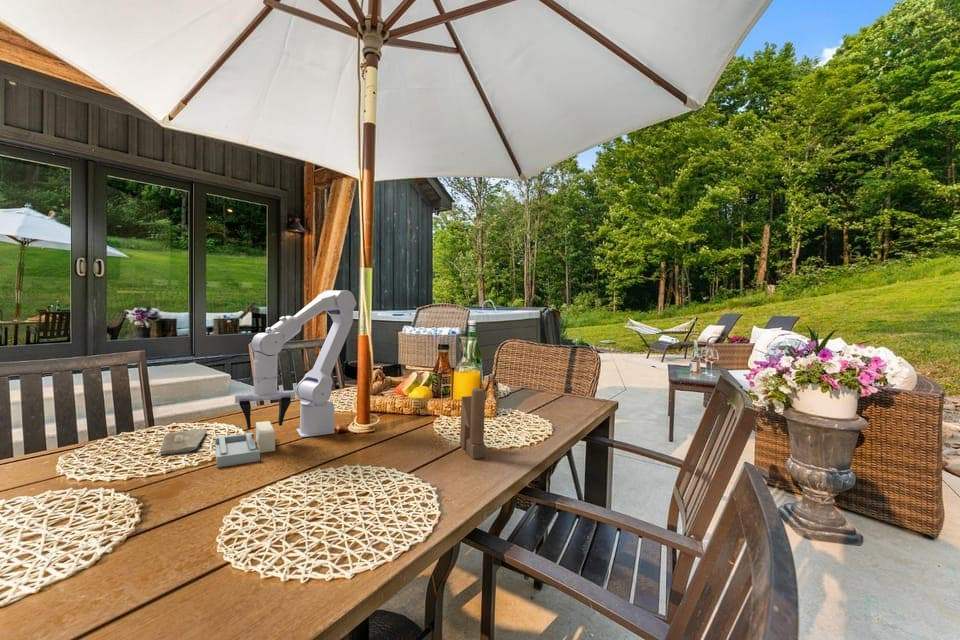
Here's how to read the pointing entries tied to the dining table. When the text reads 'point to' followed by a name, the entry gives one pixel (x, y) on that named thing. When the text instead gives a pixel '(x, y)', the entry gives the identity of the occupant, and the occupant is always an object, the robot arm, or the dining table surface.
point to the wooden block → (473, 423)
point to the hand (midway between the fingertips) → (264, 426)
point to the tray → (236, 449)
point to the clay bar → (265, 436)
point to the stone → (182, 441)
